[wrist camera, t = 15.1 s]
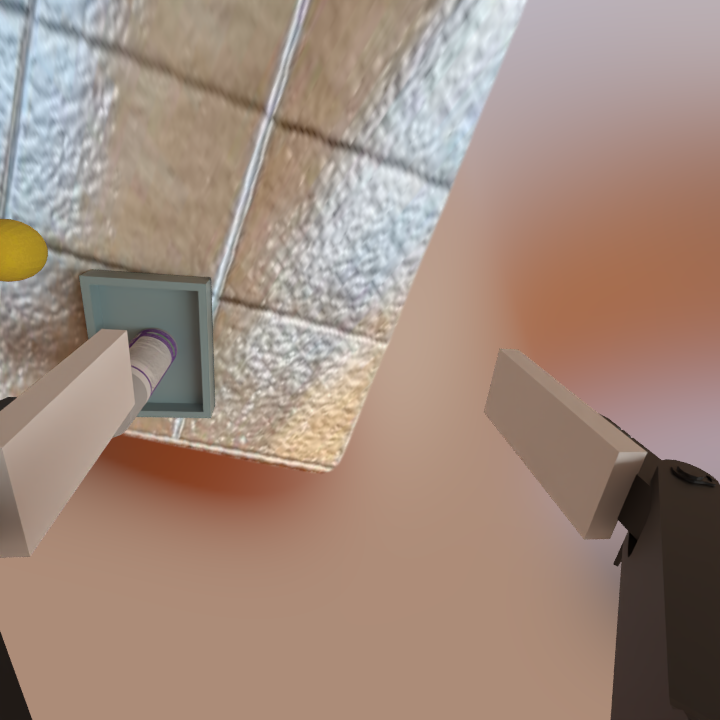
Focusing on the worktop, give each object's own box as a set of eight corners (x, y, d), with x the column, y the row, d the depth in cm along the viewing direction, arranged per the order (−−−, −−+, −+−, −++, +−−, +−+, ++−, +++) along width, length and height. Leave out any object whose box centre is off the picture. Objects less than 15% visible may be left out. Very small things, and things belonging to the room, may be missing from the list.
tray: (91, 269, 45) (78, 275, 42) (211, 277, 47) (205, 284, 44) (110, 403, 51) (100, 416, 49) (215, 405, 53) (210, 418, 51)
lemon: (30, 204, 42) (-25, 210, 35) (74, 252, 44) (31, 268, 37) (-13, 234, 43) (-76, 247, 35) (33, 281, 45) (-18, 302, 38)
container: (145, 371, 49) (88, 446, 36) (125, 334, 47) (57, 399, 34) (185, 359, 49) (143, 430, 36) (166, 322, 47) (115, 382, 34)
